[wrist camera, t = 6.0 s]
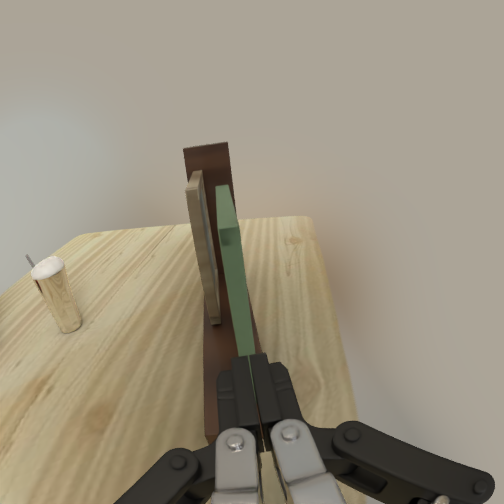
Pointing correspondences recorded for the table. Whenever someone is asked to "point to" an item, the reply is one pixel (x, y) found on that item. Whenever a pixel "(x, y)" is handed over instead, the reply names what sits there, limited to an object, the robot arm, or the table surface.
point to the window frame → (212, 269)
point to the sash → (234, 272)
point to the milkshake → (56, 292)
